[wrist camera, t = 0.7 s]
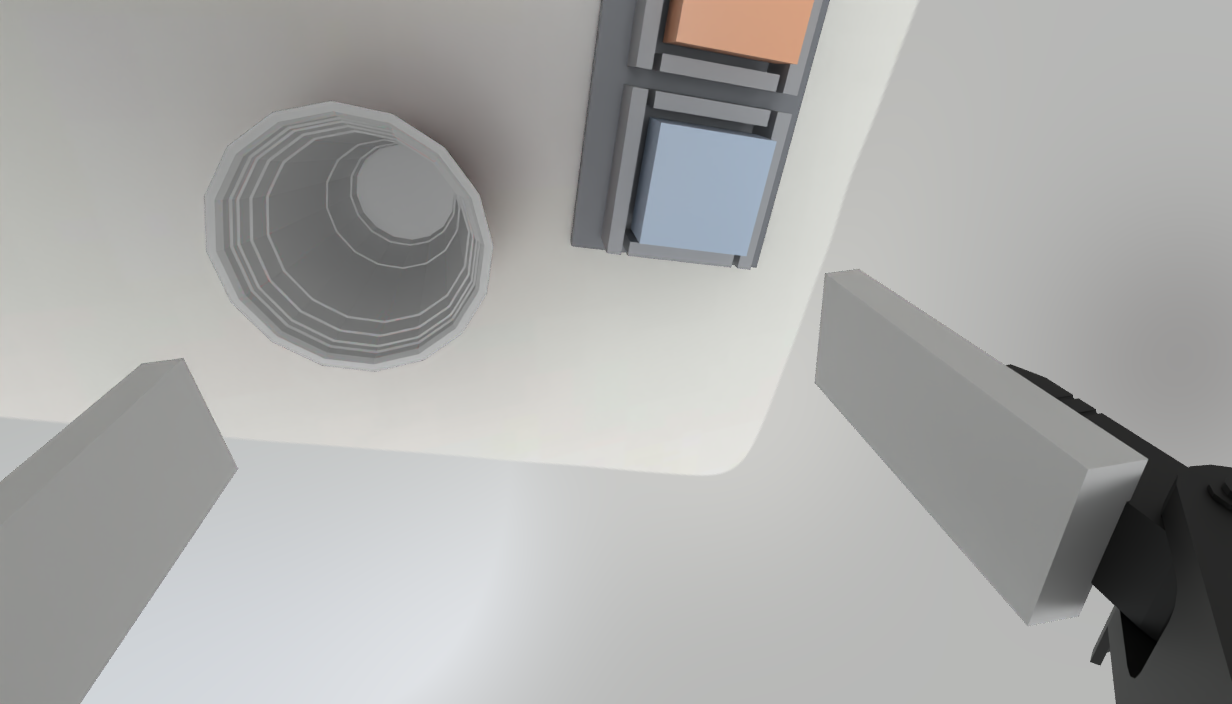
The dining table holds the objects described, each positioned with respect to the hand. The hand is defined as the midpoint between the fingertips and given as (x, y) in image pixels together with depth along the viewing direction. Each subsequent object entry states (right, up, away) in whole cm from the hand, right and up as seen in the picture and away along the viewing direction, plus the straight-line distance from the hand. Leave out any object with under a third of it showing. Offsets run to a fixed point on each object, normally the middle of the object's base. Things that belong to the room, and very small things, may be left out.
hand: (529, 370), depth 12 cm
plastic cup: (-10, +10, +21) cm, 26 cm away
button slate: (+6, +10, +20) cm, 23 cm away
